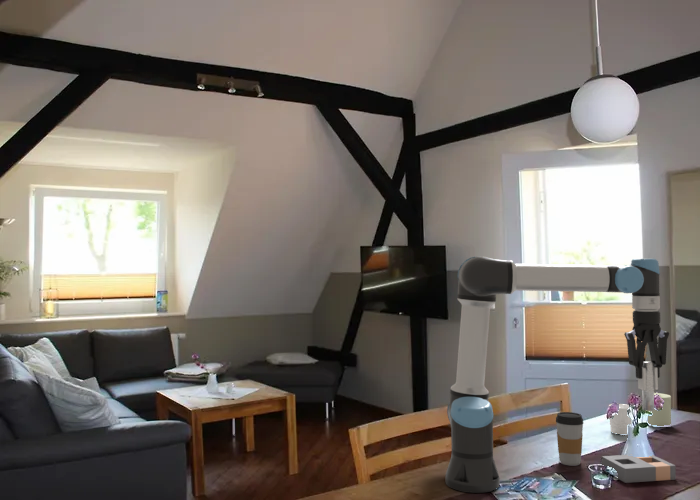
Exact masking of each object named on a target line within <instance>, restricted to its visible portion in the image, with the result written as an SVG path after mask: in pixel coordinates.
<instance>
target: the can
mask: <svg viewBox="0 0 700 500" xmlns="http://www.w3.org/2000/svg"><path fill="white" fill-rule="evenodd" d="M656 394H658V395H659V396H660V397H661V398H662V399H664V401H665V402H664V404H663V409H662V410H661V411H657V410H655V409H654V411H652V413H653V415H652V416H648V423H649V424H651V425H657V426H664V425H670V424H671V425H672V396H671V395H670V394H666V393H660V392H654V395H656Z"/></svg>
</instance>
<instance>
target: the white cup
mask: <svg viewBox="0 0 700 500" xmlns="http://www.w3.org/2000/svg"><path fill="white" fill-rule="evenodd" d="M612 404H613V403H611V404H608V407H609V406H611V405H612ZM618 404H619V411H618V415H617V414H615V415H614V418H613V419H610V418H609V425H610V433H611V432H613V433H617V434H627V425H628V424H631V425H632V423H633V422H632V421H631V419H630V418H629V417H628V416H627V409H628V408H629V405H630V404H625V403H618Z"/></svg>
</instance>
